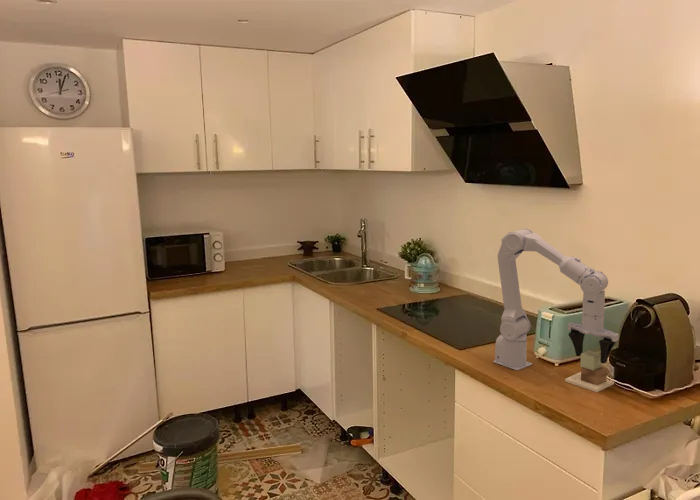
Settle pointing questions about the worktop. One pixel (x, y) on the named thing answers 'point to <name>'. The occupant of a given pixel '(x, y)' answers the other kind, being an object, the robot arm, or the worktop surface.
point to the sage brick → (590, 360)
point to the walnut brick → (594, 375)
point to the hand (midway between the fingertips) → (591, 358)
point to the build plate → (577, 381)
